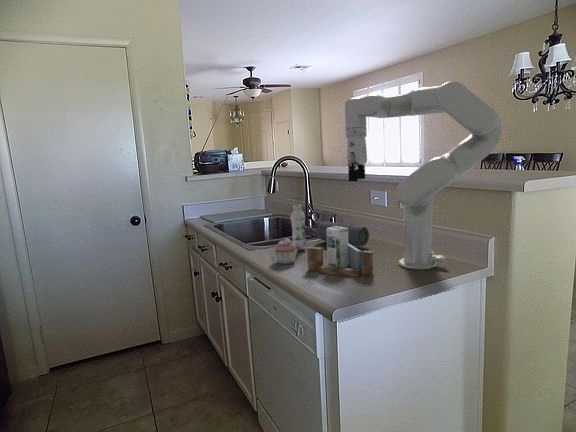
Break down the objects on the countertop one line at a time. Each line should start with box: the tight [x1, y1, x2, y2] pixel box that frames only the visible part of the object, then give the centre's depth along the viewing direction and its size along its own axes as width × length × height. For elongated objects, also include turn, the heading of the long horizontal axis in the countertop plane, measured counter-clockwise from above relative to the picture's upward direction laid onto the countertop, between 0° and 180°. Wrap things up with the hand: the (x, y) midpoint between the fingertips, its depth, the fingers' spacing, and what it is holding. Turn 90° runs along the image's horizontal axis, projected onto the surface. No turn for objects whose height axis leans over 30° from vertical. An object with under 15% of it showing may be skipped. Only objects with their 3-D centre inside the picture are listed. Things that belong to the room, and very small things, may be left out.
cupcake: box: [273, 236, 299, 265], centre depth 146 cm, size 9×9×10 cm
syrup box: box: [326, 226, 350, 268], centre depth 137 cm, size 6×6×14 cm
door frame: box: [306, 246, 374, 278], centre depth 130 cm, size 23×4×8 cm, turn 63°
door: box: [348, 243, 363, 275], centre depth 134 cm, size 14×1×8 cm, turn 11°
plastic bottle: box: [289, 203, 307, 251], centre depth 162 cm, size 6×7×20 cm
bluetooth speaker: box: [316, 221, 370, 247], centre depth 168 cm, size 23×9×10 cm, turn 46°
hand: (357, 180), depth 142 cm, fingers open, 9 cm apart
